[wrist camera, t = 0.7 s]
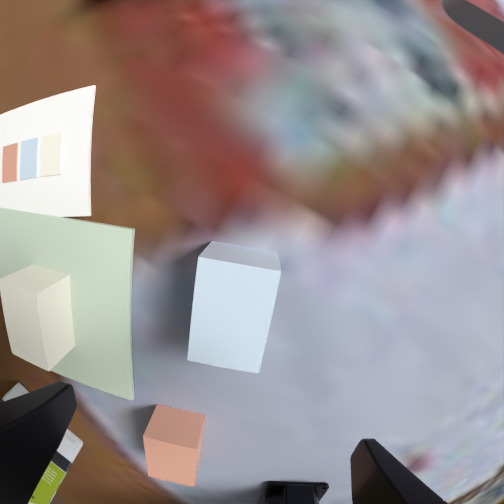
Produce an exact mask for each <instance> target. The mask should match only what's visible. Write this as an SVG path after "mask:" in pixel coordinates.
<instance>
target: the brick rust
mask: <svg viewBox="0 0 504 504" xmlns="http://www.w3.org/2000/svg"><path fill="white" fill-rule="evenodd" d="M204 423H205V415H204V414H199V413H194V412H189V411H184V410H180V409H176V408H171V407H167V406H163V405H159V404H157V406H156V408H155V410H154V412H153V415H152V417H151V419H150V421H149V423H148V426H147V428H146V430H145V432H144V435H143V441H144V449H145V456H146V463H147V469H148V476H151V477H154V478H158V479H162V480H166V481H170V482H174V483H178V484H183V485H187V486H192V487H194V486H195V482H196V477H197V473H198V468H199V464H200V459H201V454H202V443H203V433H204Z"/></svg>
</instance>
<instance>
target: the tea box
mask: <svg viewBox="0 0 504 504" xmlns="http://www.w3.org/2000/svg"><path fill="white" fill-rule="evenodd" d="M26 393H29V392H28V391H27V389H26V388H25V387H24V386H23V385H21V384H20V383H17V384H16V385H15V386H14V387H13V388H12V389H11V390H10V391H9V392H8V393H7V394H5V396H4V397H3V398H2V399H1V400H0V403H1V402H4V401H6V400H9V399H12V398H15V397H18V396H20V395H23V394H26ZM82 445H83V441H82V440H81V439H79V438H78V437H77V436H76V435H75V434H74V433H72V432H71V431H70V430H69V429H68V428H67V430H66V433H65V435H64V437H63V440H62V442H61V444H60V446H59V448H58V449H57V451H56V453H55V455H54V456H53V458H52V460H51V462H50V463H49V465H48V467H47V469H46V471H45V472H44V474H43V476H42V478H41V480H40V482H39V483H38V485H37V487H36V489H35V491H34V493H33V495H32V497H31V499H30V501H29V503H28V504H50V502H51V501H52V498H53V497H54V495H55V493H56V491H57V489H58V487H59V486H60V484H61V482H62V480H63V479H64V477H65V475H66V473H67V472H68V470H69V468H70V466H71V465H72V463H73V461H74V459H75V457H76V456H77V454H78V452H79V450H80V449H81V447H82Z"/></svg>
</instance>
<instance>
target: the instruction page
mask: <svg viewBox="0 0 504 504" xmlns="http://www.w3.org/2000/svg"><path fill="white" fill-rule="evenodd" d="M95 92H96V85H93V86H89V87H85V88H80V89H77V90H73V91H69V92H65V93H62V94H58V95H55V96H52V97H48V98H45V99H42V100H39V101H36V102H33V103H30V104H27V105H24V106H22V107H19V108H16V109H14V110H11V111H8V112H6V113H3V114H1V115H0V207H2V208H8V209H14V210H20V211H27V212H33V213H39V214H45V215H51V216H57V217H75V216H91V181H90V177H91V140H92V123H93V111H94V101H95Z"/></svg>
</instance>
